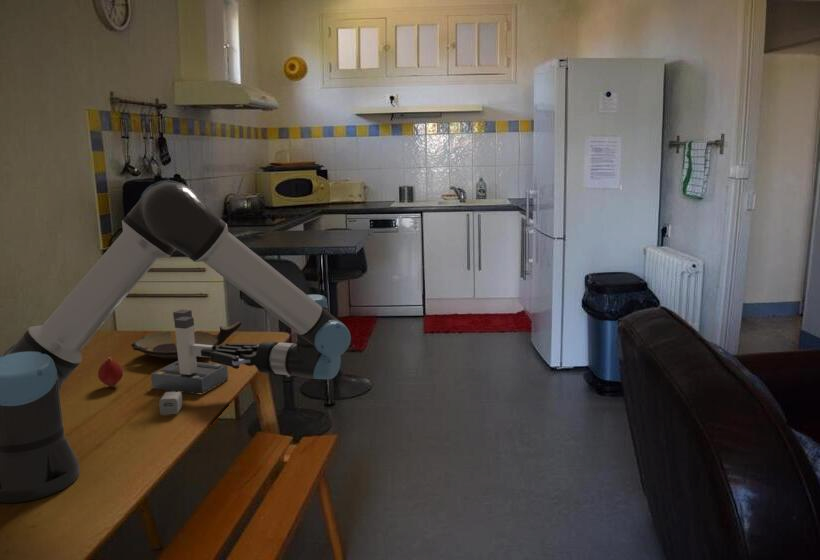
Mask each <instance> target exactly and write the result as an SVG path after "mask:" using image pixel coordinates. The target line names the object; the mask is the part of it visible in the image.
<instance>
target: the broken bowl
mask: <svg viewBox="0 0 820 560" xmlns="http://www.w3.org/2000/svg"><path fill="white" fill-rule="evenodd" d="M241 326H242V322H241V321H237V322H236V323H234V324H233V325H230V326H222V325H221V326H219V332H218V334H212V333H209V332H206V331H201V330H197V331H194V337H195V344H204V345H216V346H217V347H218V346H220V345H223V343H225V341H226V340H227V339H228V338H229V337H230V336H232V335H233V334H234V333H235V332H236V331H237V330H238V329H239V328H240V327H241ZM130 346H131V347H132V350H133V351H137V352H141V353H143V354H146V355H148V356H152V357H156V358H162V359H167V360H178V353H177V344H176V343H175V341H174V338H173V337H172V333H171V332H169V331H165V332H164V331H163V332H157V333H151V334H148V335H145V336H143V337H141V338H139V339H137V340H135V342H133V343H130Z"/></svg>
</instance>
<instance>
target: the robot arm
mask: <svg viewBox="0 0 820 560" xmlns="http://www.w3.org/2000/svg"><path fill="white" fill-rule="evenodd" d="M121 224H122V225H121V227H122V232H121V233H120V234H119V236H118V237H117V238H116V239H115V240H114V242H113V243H112V244H111V245H110V246H109V247H108V248H107V250H106V251H105V252H104V253H103V254H102V255H101V257H100V258H99V259H98V260H97V261H96V263H94V265H93V266H92V267H91V268H90V269H89V271H88V272H87V273H86V274H85V275H84V276H83V278H82V279H81V280H80V281H79V282H78V284H77V285H76V286H75V287H74V288H73V289H72V290H71V292H70V293H69V294H68V295H67V296H66V297H65V299H64V300H63V301H62V302H61V303H60V304H59V306H58V307H57V308H56V309H55V310H54V311H53V312H52V314H51V315H50V316H49V317H48V318H47V320H46V321H44V323H43V324H41V325H34V326H30V327H29V328H27V330H26V331H25V333H23V335H22V336H21V337H20V338H19V339H18V340H17V342H16V343H14V344H13V345H11V346H10V347H8V348H7V349H6V350H5V351H4V353H3V354H2V355H1V356H0V503H5V504H7V503H8V504H11V503H12V504H15V503H25V502H30V501H31V502H32V501H34V500H35V501H36V500H39V499H43V498H45V497H48V496H51V495H54V494H56V493H58V492H60V491H62V490H64V489H66V488H68V487H70V486H71V485H72V484H73V483H75V482H76V481H77V479H78V478H79V476H80V474H81V470H80V464H79V463H80V462H79V459H78V458H77V455H76V453H75V452H74V450H73V448H72V447H71V444H70V443H69V441H68V439H67V437H66V435H65V430H64V422H63V413H62V408H61V397H60V396H61V389H62V385H63V384H64V383H65V381H66V380H68V378H69V377H70V376H71V375H72V374H73V372H74V371H75V369H77V367H78V366H79V365H80V363H82V361H83V359H82V358H83V357H82V351H81V350H82V349H83V348H84V347H85V346H86V344H88V342H90V340H91V338H93V336H94V335H95V334H96V333H97V332H98V330H99V329H100V328H101V327H102V325H104V323H105V322H106V321H107V320H108V319H109V317H110V316H111V315H112V314H113V313H114V312H115V310H116V309H117V308H118V307H119V306H120V304H121V303H122V302H123V301H124V300H125V298H126V297H127V296H128V295H129V294H130V293H131V291H132V290H133V289H134V288H135V287H136V286H137V284H138V283H139V282H140V281H141V279H142V278H143V277H144V276H145V275H146V274H147V272H148V271H149V270H150V269H151V268H152V267H153V266H154V264H155V263H156V262H157V261H158V260H159V259H161V258H162V259H165V258H170V257H171V256H172V255H173V254H174V253H175V251H178V252H180V253H181V254H183V255H184V256H186V257H188V258H189V259H190V260H191V261H193V262H194V263H200V262H201V263H204V264H205V265H207V267H209V268H211V269H212V270H213V271H215V272H216V273H217V274H218V275H220V276H221V277H223V279H225V280H227V281H228V282H229V283H231V284H232V285H233V286H235V287H236V288H237V289H238V290H240V291H241V292H242V293H244V294H245V295H247V296H248V297H249V298H250V299H252V300H253V301H254V302H255V303H257V304H258V305H260V306H261V307H262V308H263V309H265V310H266V311H267V312H268V313H270V314H271V315H273V317H275V318H276V319H277V320H279V321H280V322H282V323H283V324H284V325H286V326H287V327H289V329H291V330H292V331H294V332H295V339H296V343H291V342H277V341H269V340H266V341H263V342H258V343H238V342H237V343H232V342H231V343H228V342H227V343H224V344H220V345H218V346H216V345H204V344H193V345H191V347H192V356H196V357H198V358H199V357H200V358H210V362H211V363H214V364H222V365H227V367H228V366H229V367H232V369H237V370H238V369H239V368H240V365H246V367H252V366H254V367H256V369H257V370H258V371H259V373H263V374H271V375H273V374H276V375H284V376H286V377H287V378H290V377H291V376H293V377H301V378H309V379H314V380H332V379H334V378H336V377H337V375H338V373H339V372H340V369H341V362H342V361H341V359H342V357H341V355H343V354H344V353H345V352H346V351H347V350H348V348H349V346H350V344H351V340H352V336H351V332H350V330H349V328H348V327H347V326H346V324H344V322H342V321H341V320H339V319H337V318H336V317H335V316H334V315H333V314H331V313H330V312H329V311H328V310H329V306H328V299H327V297H326V296H324V295H323V294H322V295H321V294H316V293H315V294H306V292H304V291H303V290H302V289H300V288H299V287H297V286H296V285H295V284H294V283H292V281H291V280H289V279H288V278H286V277H285V276H284V275H283V274H282V273H281V272H279V271H278V270H277V269H275V268H274V267H273V266H272V265H271V264H269V263H268V262H267V261H265V260H264V259H263V258H261V257H260V256H259V255H258V254H257V253H256V252H254V251H253V250H252V249H250V248H249V247H248V246H246V245H245V244H244V243H243V242H242V241H241V240H239V239H238V238H237V237H236V236H235V235H233V234H232V233H231V232H229V229H228V224H227V222H225V221H224V220H223V219H222V218H220V217H219V216H218V215H217V214H216V213H215V212H214V211H213V210H212V209H211V208H210V207H209V206H208V205H207V204H206V202H205V201H203V199H202V198H201V197H200V195H199V194H198V193H197V192H196V191H194V190H193V189H191V188H190V187H189V186H187V185H186V184H184V183H181V182H179V181H175V180H161V181H157V182H154V183H153V184H151V185H149V186H148V187H146V188H145V190H144V191H143V192H142V194H141V195H140V197H139V200H138V201H137V202H136V204H135V205H134V206H133V207H132V208H131V210H130V211H129V212H128V213H127V214H126V215H125V216H124V218H123V219H122V220H121Z"/></svg>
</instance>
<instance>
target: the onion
mask: <svg viewBox="0 0 820 560" xmlns="http://www.w3.org/2000/svg"><path fill="white" fill-rule="evenodd" d="M123 370H124V369H123V367H122V365H120V363H119V362H118V361H115V360H113V359H112V357H111V356H109V357H107V359H106V360H105V361H104V362H103V363H102V364H101V365H100V367H99V369H98V371H97V372H98V373H97V377H98V380H99V381H100V382H101V383H102V384H104V385H106V386H108V387H110V388H114V387H115V386H116V385H117V384H118V383H119V382H120V381H121V380H122V378H123V375H124V371H123Z"/></svg>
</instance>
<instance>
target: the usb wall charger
mask: <svg viewBox="0 0 820 560" xmlns="http://www.w3.org/2000/svg"><path fill="white" fill-rule="evenodd" d="M158 402H159V413H160V415H161V416H169V415H168V414H177V415H178V414H179V412H180V410H181V409H182V408H183V393H182V392H176V391H165V392H164V393H163V395H162V396H161V397H160V399H159V401H158Z"/></svg>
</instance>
